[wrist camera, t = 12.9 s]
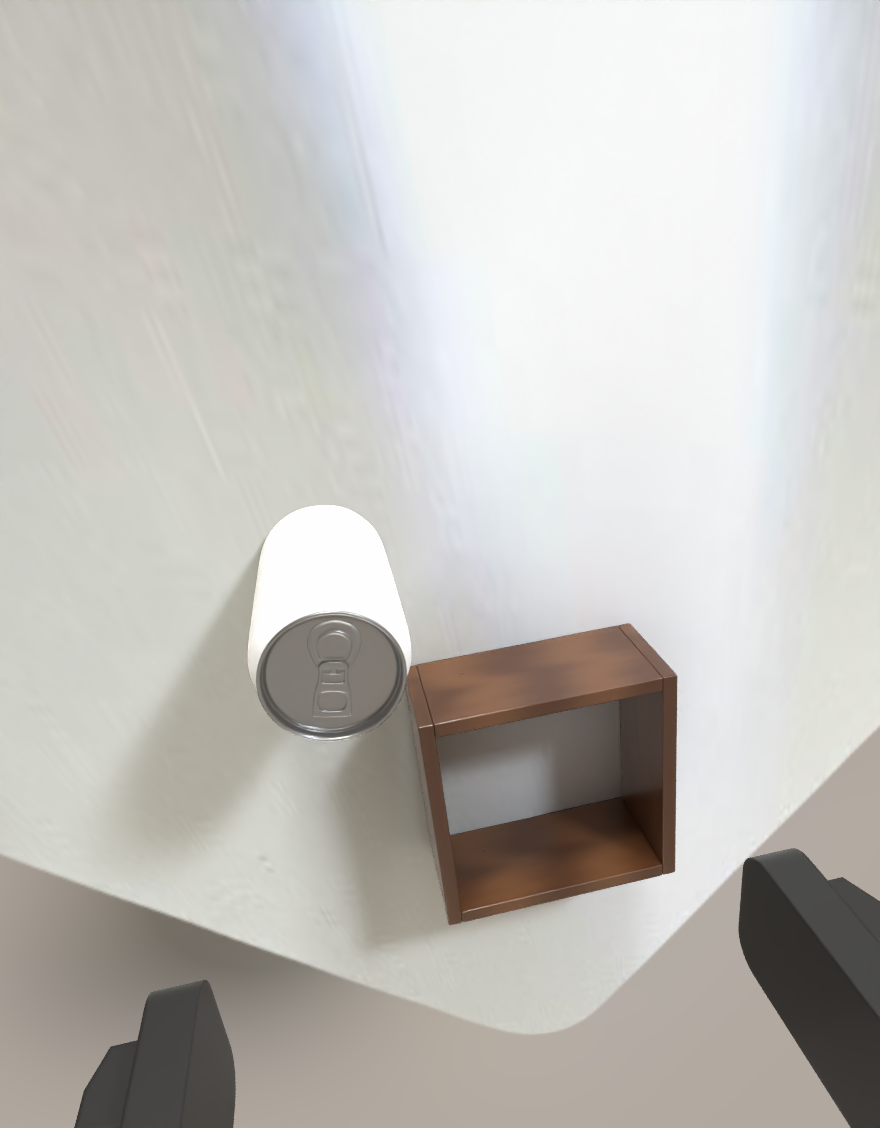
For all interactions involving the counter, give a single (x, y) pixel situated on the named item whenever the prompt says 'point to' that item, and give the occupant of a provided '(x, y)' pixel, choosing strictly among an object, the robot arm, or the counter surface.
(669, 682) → the crate
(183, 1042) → the robot arm
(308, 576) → the can
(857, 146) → the counter surface
